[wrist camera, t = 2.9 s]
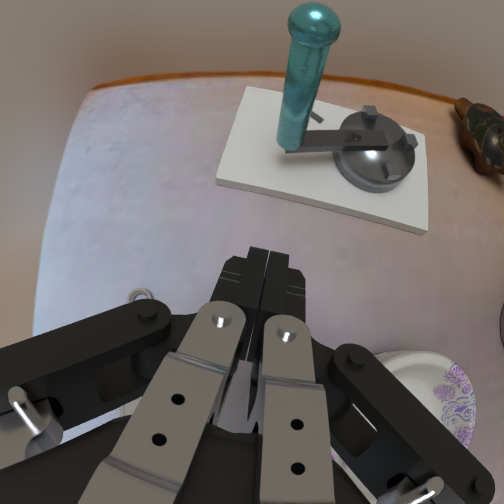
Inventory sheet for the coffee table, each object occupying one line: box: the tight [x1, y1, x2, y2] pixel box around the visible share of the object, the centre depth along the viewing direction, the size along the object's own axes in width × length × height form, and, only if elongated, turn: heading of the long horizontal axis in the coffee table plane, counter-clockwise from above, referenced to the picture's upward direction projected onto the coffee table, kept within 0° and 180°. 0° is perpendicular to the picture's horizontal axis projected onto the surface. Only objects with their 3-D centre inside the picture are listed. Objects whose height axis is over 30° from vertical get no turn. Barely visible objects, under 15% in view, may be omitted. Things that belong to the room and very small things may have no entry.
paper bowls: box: [331, 350, 476, 504], centre depth 23 cm, size 15×15×8 cm
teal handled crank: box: [276, 2, 418, 192], centre depth 24 cm, size 16×9×19 cm, turn 97°
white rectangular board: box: [216, 86, 428, 235], centre depth 34 cm, size 24×14×2 cm, turn 77°
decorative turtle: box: [455, 98, 504, 175], centre depth 33 cm, size 10×15×8 cm, turn 26°
